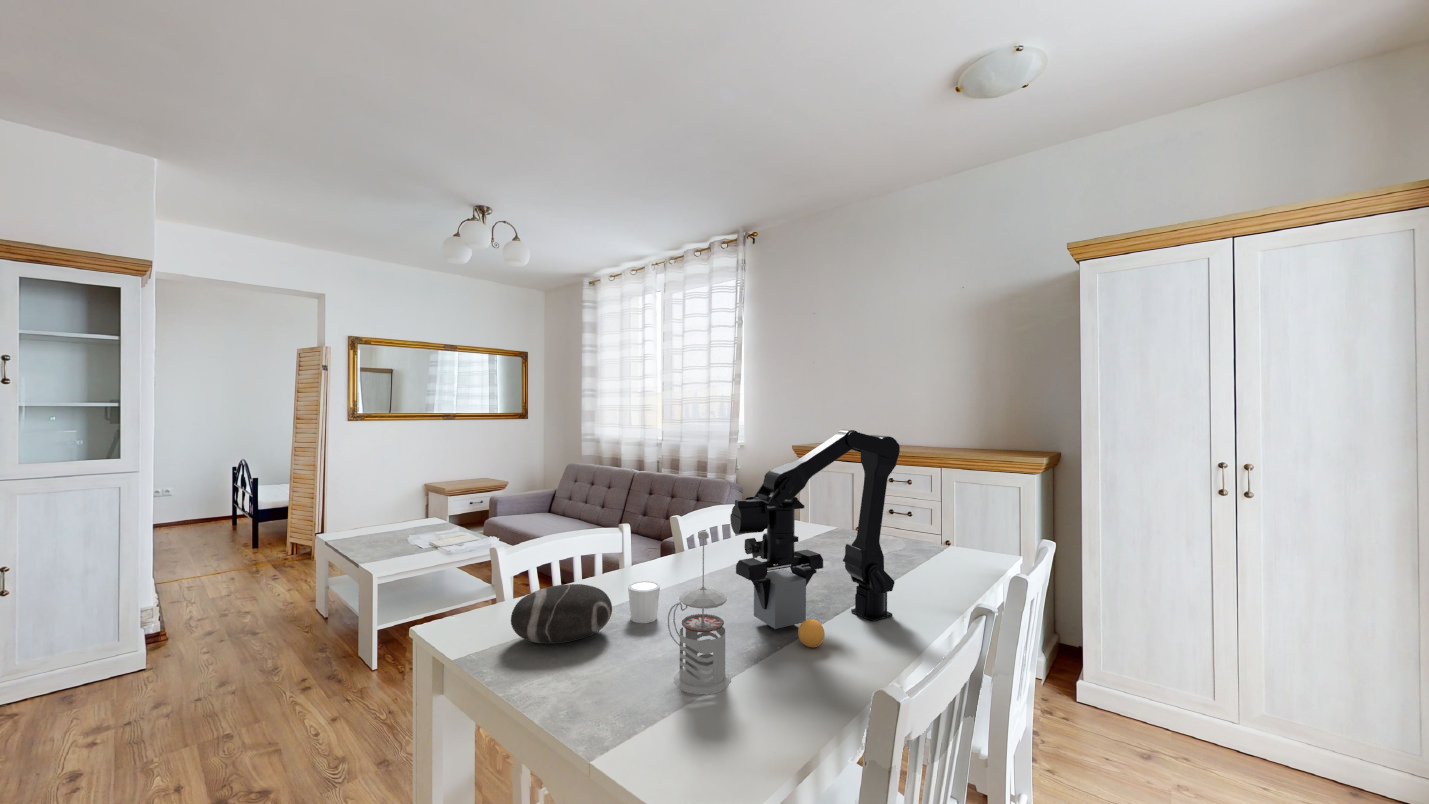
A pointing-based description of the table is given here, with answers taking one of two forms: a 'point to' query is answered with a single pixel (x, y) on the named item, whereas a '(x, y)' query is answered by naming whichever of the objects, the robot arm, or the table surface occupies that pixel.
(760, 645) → the table surface
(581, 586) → the decorative stone
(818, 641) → the ball
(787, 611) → the grey matte cube
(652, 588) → the white tapered cup
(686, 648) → the french press
